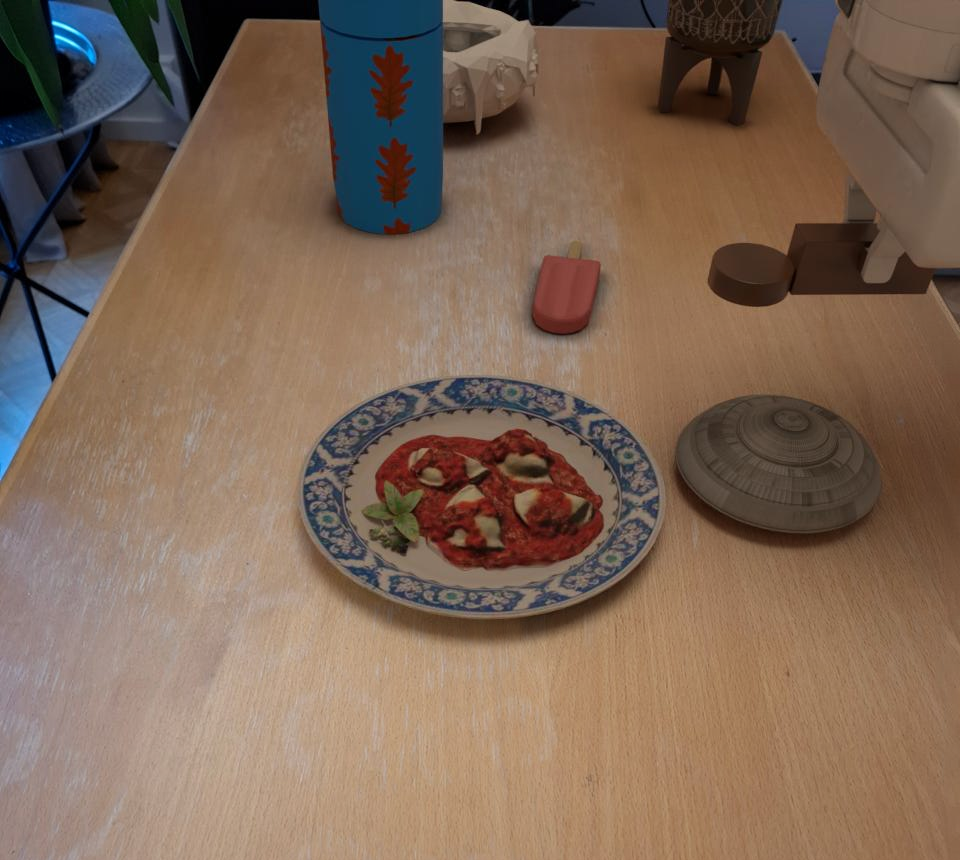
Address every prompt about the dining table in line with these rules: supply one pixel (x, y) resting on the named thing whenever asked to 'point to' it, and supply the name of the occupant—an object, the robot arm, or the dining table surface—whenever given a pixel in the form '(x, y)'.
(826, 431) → the flying saucer
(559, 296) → the popsicle
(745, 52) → the planter
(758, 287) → the brown cylinder and block
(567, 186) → the dining table surface
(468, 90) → the bowl
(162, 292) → the dining table surface
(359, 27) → the thermos
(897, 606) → the dining table surface
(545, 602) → the ceramic plate
